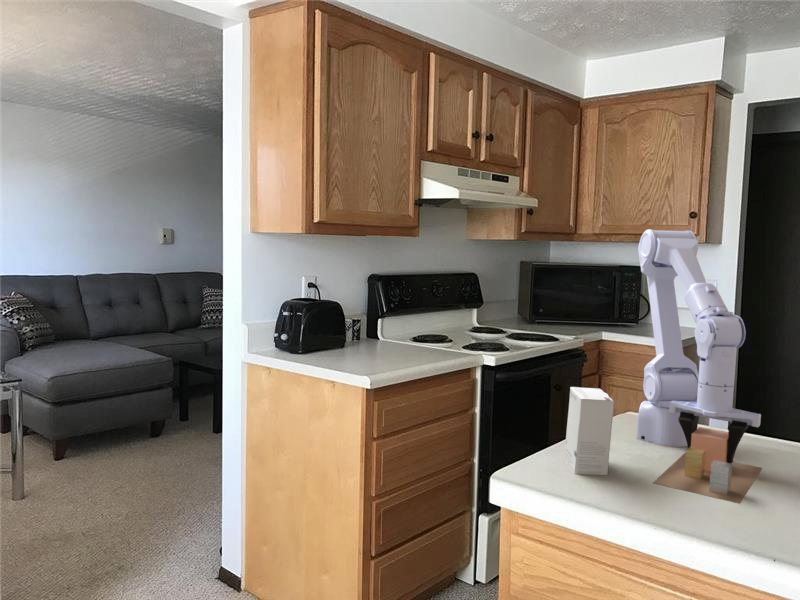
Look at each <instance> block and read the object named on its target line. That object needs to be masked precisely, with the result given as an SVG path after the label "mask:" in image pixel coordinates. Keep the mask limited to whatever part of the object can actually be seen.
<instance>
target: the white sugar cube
mask: <svg viewBox="0 0 800 600" xmlns="http://www.w3.org/2000/svg"><path fill="white" fill-rule="evenodd" d="M731 474H732V463H727V462H722V461H717V460H714V461H713V462H712V464H711V472H710V486H709V492H714V493H718V494H722V495H728V493H729V492H730V487H731Z"/></svg>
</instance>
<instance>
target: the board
mask: <svg viewBox="0 0 800 600" xmlns="http://www.w3.org/2000/svg"><path fill="white" fill-rule="evenodd" d="M685 459H686V451H685V452H684V453H683V454H682V455H681V456H680V457H679V458H678V459H677V460H675V461H674V462H673V463H672V464H671V465H670V466H669V467H668V468H667V469H666V470H665V471H664V472H663V473H661V474H660V475H659V476H657V478H656V479H654V481H653V482H652V484H655V485H657V486H658V485H659V486H663V487H667V488H671V489H675V490H679V491H683V492H688V493H693V494H697V495H701V496H706V497H709V498H714V499H719V500H723V501H726V502H731V503H734V504H740V503H741V502H742V500H743V499H744V497H745V496H746V494H747V493H748V491H749V490H750V488H751V486H752V485H753V484H754V482H755V481H756V479H757V477H758V476H759V474H760V473H761V471H762V469H763V467H761V466H755V465H751V464H750V465H749V464H745V463H741V462H740V463H739V462H735V461H733V462H732V474H731V487H730V492H729V493H728V495H722V494H718V493H714V492H709V486H710V472H711V471H707V470H705V472H704V476H703V477H702V478H701V479H697V478H692V477H688V476H684V474H685Z"/></svg>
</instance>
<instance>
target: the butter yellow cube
mask: <svg viewBox="0 0 800 600" xmlns="http://www.w3.org/2000/svg"><path fill="white" fill-rule="evenodd" d="M685 452H686V459H685V474H684V476H688V477H692V478H697V479H701V478H702V477H703V476H704V472H705V458H706V450H705V449H700V448H695V447H689V448H688V447H687V449H686V450H685Z"/></svg>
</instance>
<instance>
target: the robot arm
mask: <svg viewBox="0 0 800 600" xmlns="http://www.w3.org/2000/svg"><path fill="white" fill-rule="evenodd" d="M637 247H638V249H637V250H638V258H639V259H638V260H639V265H640V272H641V273H642V274H644V275H645V276H646V280H647V282H646V283H647V289H648V297H649V298H648V299H649V305H650V313H651V322H652V323H651V324H652V331H653V339H654V340H653V341H654V347H655V349H654V350H655V355H656V356H655V357H654V358H653V359H651V361H649V362H647V364H645V367H644V368H643V369H644V370H643V371H644V372H643V375H644V376H643V383H642V384H643V385H642V386H643V392H644V393H643V394H644V396H645V398H646V399H647V400H643V401H642V402H641V403H640V405H639V409H638V414H637V425H636V426H637V429H636V430H637V431H636V440H639V441H645V442H649V443H654V444H658V445H661V446H666V447H672V448H673V447H674V448H680V447H687V449H688V448H689V447H691V437H692V433H693V432H694V431H695V430H697V429H698V425H699V418H707V419H710V420H711V419H713V420H716V421H717V420H718V421H723V422H730V423H729V425H728V427H727V428H728V430H727V432H728V452H727V463H732V462H734V458H735V454H736V452H737V448H738V446H739V444H740V442H741V440H742V438H743V436H744V434H745V433H746V431H747V429H748V428H749V426H751V427H754V428H759V427H760V426H761V420H762V419H761V418H762V414H761V413H756V412H751V411H748V410H747V411H746V410H742V409H737V408H734V407H733V403H734V401H733V400H734V388H735V377H736V376H735V375H736V365H737V363H736V362H737V352H738V351H737V350H738V349H740V348H741V347H742V346H743V345H744V342H745V340H746V334H747V332H746V327H745V323H744V320H743V319H742V317H741V316H739V315H738V314H737V315H736V314H735V313H734V311H729V309H728V308H727V306H726V304H725V302H724V300H723V298H722V296H721V294H720V293H719V290H718V289H717V287H716V285H715V284H712V283H709V282H707V281H706V278H705V275H704V273H703V270H702V268H701V266H700V263H699V260H698V258H697V254H698V249H699V241H698V239H697V237H696V235H695V233H694V232H693V231H692V230H656V229H646V230H645V231H644V232H643V233H642V235H641V237H640V239H639V243H638V246H637ZM676 277H678V278H679V279H680V281H681V283H682V284H683V286H684V287H685V289H686V293H685V294H684V301H685V303H686V305H687V307H688V309H689V311H690V313H691V316H692V319H693V320H694V322H695V324H696V326H695V328H694V339H695V342H696V347H697V348H696V354H697V356H698V357H699V367H698V366H697V364H696V363H695V362H694V361H693V360H692V359H690V358H689V357H688V356H686V355H684V354H685V353H684V348H683V347H684V346H683V342H682V341H683V340H682V334H681V325H680V320H679V318H680V317H679V309H678V303H677V295H676V287H675V278H676ZM697 367H698V368H699V369H698V368H697Z"/></svg>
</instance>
